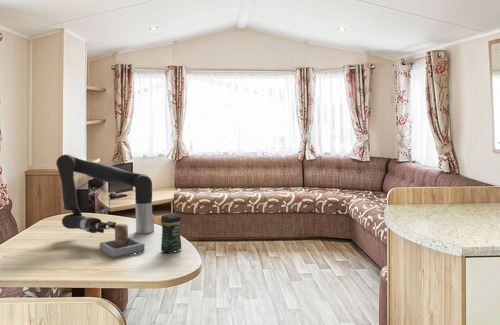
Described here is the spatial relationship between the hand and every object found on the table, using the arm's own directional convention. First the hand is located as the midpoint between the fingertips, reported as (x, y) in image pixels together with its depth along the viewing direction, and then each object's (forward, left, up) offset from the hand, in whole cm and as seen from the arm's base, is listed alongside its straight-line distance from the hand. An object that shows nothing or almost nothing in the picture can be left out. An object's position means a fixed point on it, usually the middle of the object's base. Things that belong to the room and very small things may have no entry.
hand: (110, 229), depth 211 cm
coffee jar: (-21, +23, -10) cm, 33 cm away
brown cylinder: (-2, +8, -9) cm, 12 cm away
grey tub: (-2, +8, -10) cm, 13 cm away
